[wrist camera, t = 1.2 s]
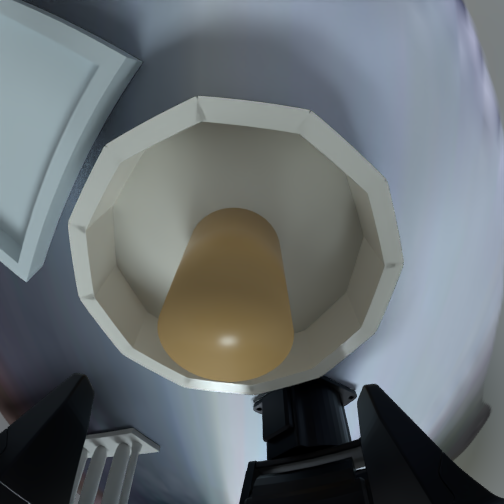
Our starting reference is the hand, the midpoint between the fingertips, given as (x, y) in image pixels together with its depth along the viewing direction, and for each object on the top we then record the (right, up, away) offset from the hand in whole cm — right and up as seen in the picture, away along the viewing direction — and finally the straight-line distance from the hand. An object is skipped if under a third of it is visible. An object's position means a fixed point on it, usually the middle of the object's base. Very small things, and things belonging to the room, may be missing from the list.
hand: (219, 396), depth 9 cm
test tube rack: (-21, -21, +23) cm, 38 cm away
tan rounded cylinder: (0, +4, +9) cm, 10 cm away
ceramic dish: (0, +5, +9) cm, 10 cm away
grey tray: (-16, +14, +5) cm, 22 cm away
